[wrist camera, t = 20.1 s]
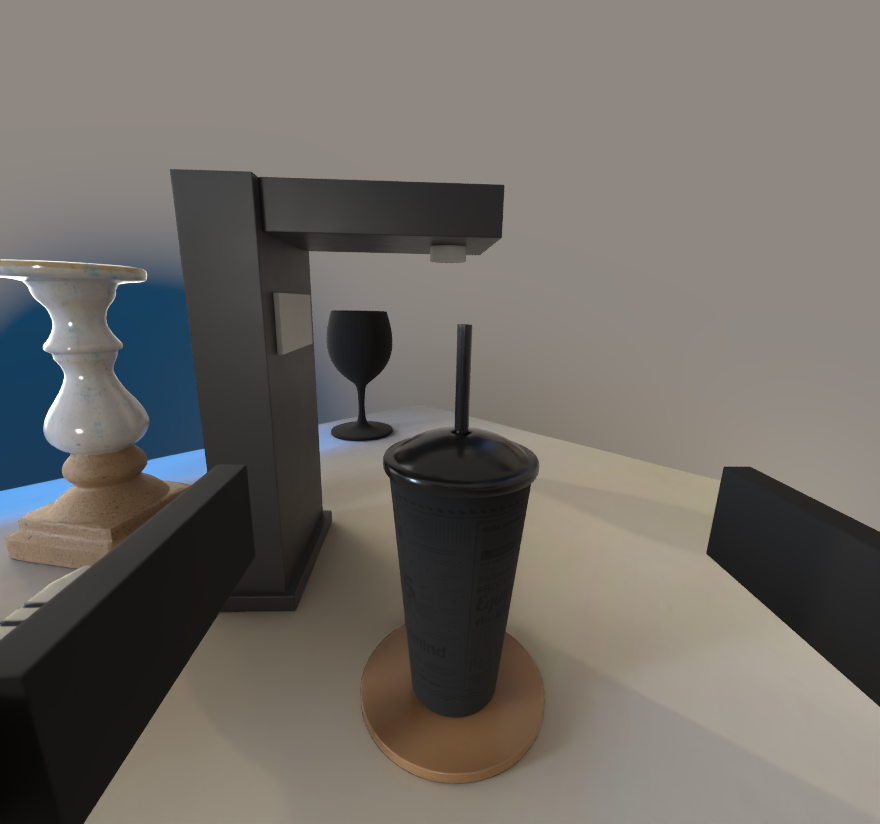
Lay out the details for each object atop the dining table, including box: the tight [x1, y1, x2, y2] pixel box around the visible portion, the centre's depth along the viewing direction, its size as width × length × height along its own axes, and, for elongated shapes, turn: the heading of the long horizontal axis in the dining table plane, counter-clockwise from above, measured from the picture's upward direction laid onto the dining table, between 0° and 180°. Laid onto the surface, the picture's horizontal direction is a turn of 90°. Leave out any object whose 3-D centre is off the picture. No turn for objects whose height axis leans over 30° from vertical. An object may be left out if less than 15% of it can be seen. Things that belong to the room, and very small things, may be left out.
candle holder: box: [0, 260, 191, 569], centre depth 37 cm, size 11×11×24 cm
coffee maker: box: [170, 169, 504, 611], centre depth 34 cm, size 20×13×28 cm, turn 93°
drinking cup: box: [383, 324, 539, 718], centre depth 22 cm, size 8×8×20 cm
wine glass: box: [327, 311, 393, 441], centre depth 70 cm, size 10×10×20 cm
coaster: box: [361, 625, 545, 783], centre depth 25 cm, size 10×10×1 cm
